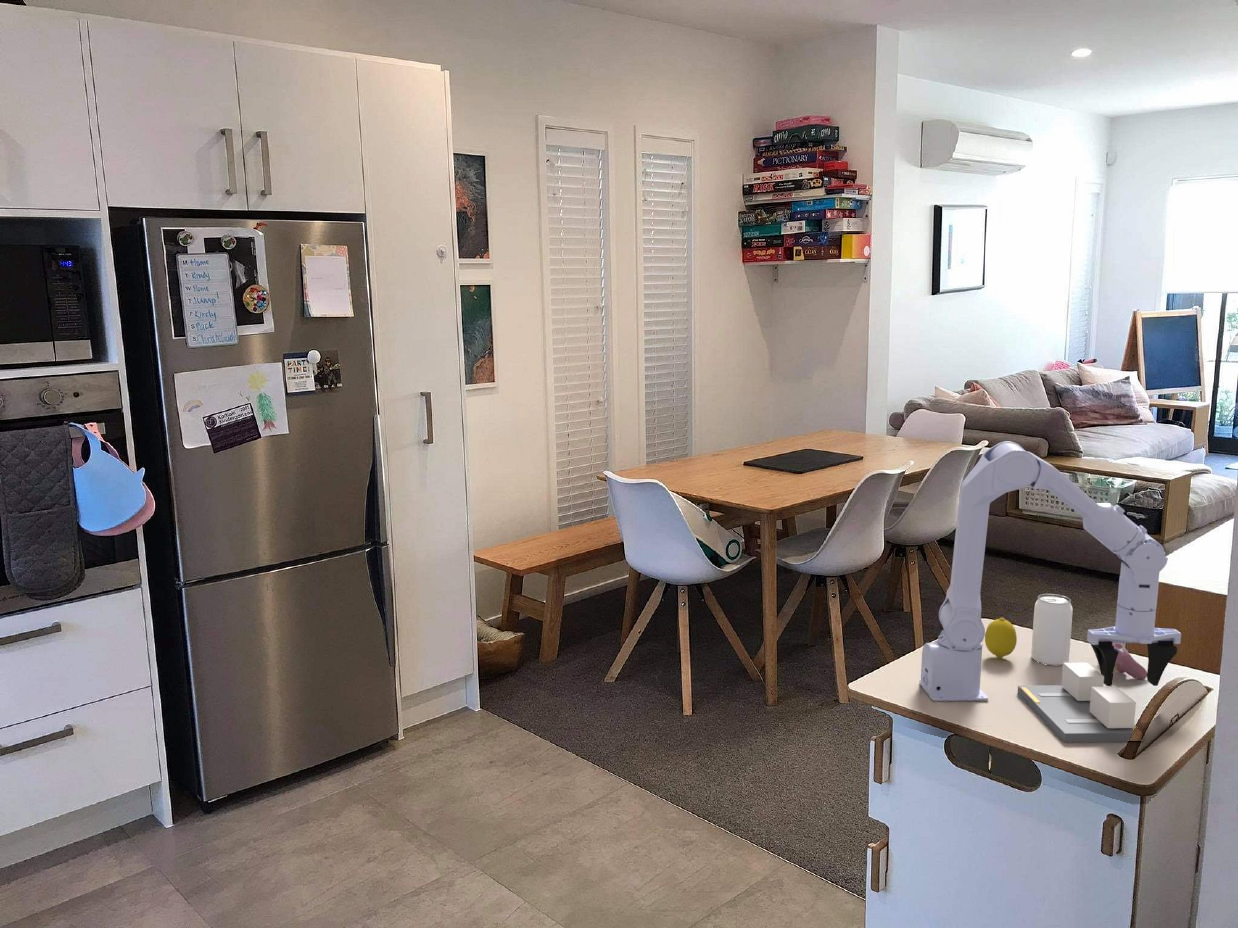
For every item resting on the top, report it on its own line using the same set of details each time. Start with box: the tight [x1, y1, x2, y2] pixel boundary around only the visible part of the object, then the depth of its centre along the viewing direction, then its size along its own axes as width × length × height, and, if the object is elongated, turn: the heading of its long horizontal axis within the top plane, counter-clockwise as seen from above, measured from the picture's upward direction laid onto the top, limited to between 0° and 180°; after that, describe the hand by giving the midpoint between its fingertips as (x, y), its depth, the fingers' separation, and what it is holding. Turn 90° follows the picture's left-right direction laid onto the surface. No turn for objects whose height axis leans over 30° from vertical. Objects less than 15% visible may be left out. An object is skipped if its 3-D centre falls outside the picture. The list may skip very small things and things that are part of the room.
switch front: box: [1089, 686, 1137, 728], centre depth 153 cm, size 4×6×4 cm, turn 0°
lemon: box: [984, 617, 1018, 659], centre depth 183 cm, size 6×6×8 cm
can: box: [1030, 593, 1074, 666], centre depth 181 cm, size 6×6×12 cm
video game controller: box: [1112, 643, 1147, 681], centre depth 177 cm, size 10×5×7 cm, turn 175°
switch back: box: [1061, 662, 1105, 701], centre depth 163 cm, size 4×6×4 cm, turn 0°
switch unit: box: [1017, 684, 1137, 743], centre depth 159 cm, size 12×18×2 cm, turn 0°
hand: (1129, 683), depth 163 cm, fingers open, 7 cm apart
